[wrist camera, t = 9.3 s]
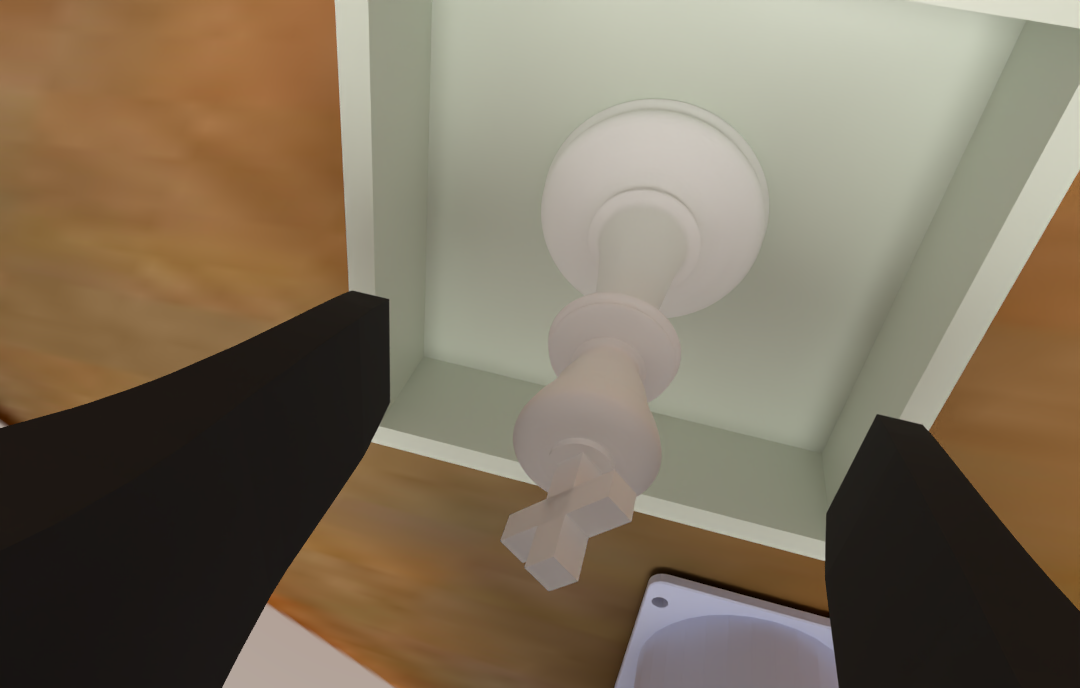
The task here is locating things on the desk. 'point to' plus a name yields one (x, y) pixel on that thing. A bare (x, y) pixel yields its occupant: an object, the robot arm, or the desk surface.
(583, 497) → the chess piece
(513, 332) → the box
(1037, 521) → the desk surface
